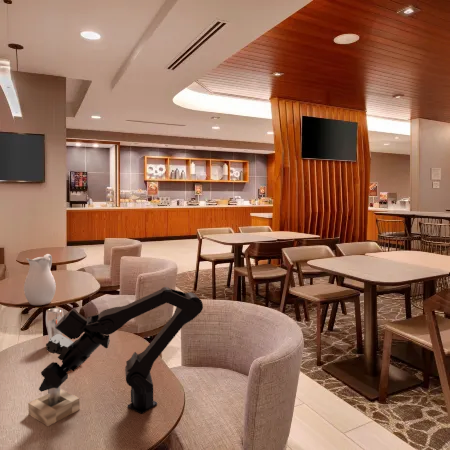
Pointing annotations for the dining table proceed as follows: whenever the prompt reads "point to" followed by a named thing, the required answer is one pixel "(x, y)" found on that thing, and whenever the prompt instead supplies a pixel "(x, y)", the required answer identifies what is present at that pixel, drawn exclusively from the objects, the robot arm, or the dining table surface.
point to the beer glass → (53, 321)
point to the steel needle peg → (53, 396)
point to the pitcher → (39, 281)
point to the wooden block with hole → (53, 408)
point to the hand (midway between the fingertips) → (48, 382)
